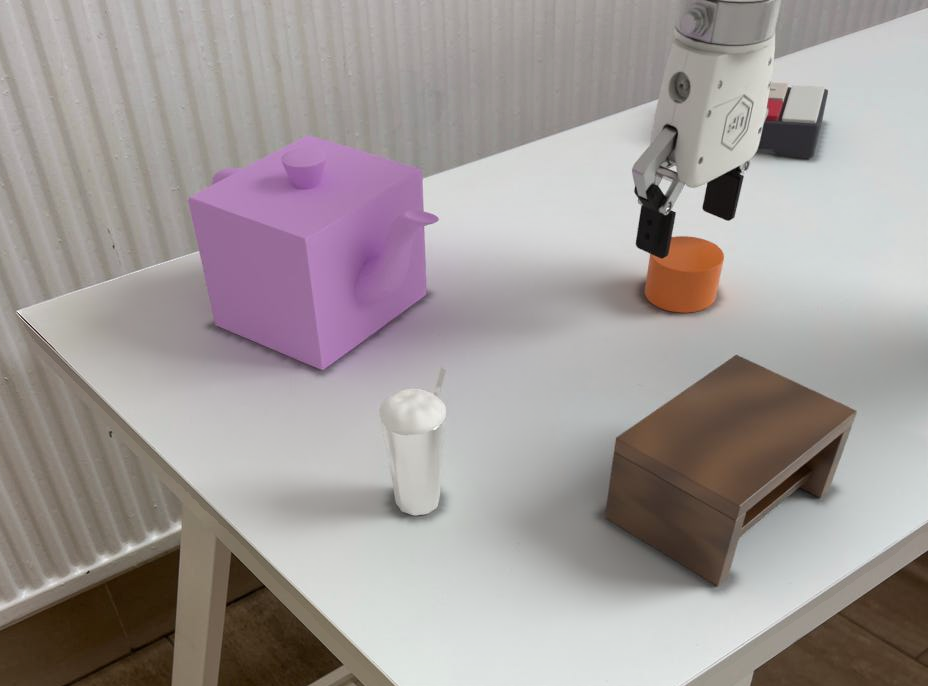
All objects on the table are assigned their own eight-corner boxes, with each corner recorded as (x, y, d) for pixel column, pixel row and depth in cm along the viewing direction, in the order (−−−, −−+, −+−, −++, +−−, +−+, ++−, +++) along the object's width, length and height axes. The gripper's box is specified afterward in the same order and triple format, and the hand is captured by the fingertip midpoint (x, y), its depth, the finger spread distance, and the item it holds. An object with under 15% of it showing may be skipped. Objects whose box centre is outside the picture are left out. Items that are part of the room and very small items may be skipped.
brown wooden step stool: (828, 491, 72) (857, 410, 67) (717, 586, 66) (739, 506, 61) (717, 433, 77) (736, 353, 72) (604, 517, 71) (615, 437, 65)
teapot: (388, 398, 81) (375, 235, 70) (177, 309, 91) (139, 154, 80) (489, 317, 89) (492, 160, 78) (286, 243, 99) (264, 95, 88)
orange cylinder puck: (730, 293, 91) (738, 252, 88) (687, 321, 88) (695, 279, 85) (673, 269, 94) (679, 228, 91) (630, 294, 91) (635, 254, 88)
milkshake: (468, 495, 73) (467, 381, 65) (417, 531, 70) (410, 416, 63) (426, 469, 75) (420, 355, 67) (374, 502, 72) (363, 388, 65)
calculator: (699, 75, 117) (830, 81, 113) (695, 113, 120) (822, 120, 116) (683, 110, 110) (821, 118, 106) (679, 150, 113) (813, 158, 109)
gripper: (699, 57, 68) (659, 284, 81) (831, 0, 76) (775, 215, 89) (616, 30, 72) (590, 251, 85) (750, -21, 79) (708, 188, 92)
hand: (685, 233), depth 87 cm, fingers open, 9 cm apart
